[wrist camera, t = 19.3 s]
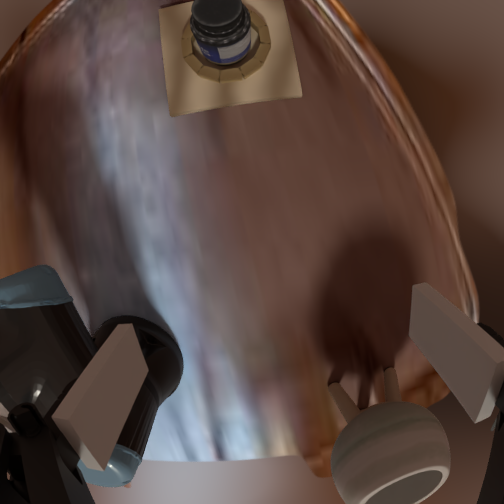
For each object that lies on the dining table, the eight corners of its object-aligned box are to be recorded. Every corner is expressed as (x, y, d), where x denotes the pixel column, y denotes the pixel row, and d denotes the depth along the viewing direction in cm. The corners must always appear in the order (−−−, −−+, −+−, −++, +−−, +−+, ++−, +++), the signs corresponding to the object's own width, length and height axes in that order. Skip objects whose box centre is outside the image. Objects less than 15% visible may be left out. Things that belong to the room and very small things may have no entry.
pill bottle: (193, 37, 32) (173, -3, 21) (239, 18, 31) (234, -27, 20) (213, 75, 33) (197, 43, 22) (259, 55, 32) (261, 17, 22)
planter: (364, 429, 50) (395, 523, 28) (296, 406, 48) (312, 520, 26) (421, 369, 46) (481, 459, 24) (357, 336, 44) (415, 448, 22)
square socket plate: (172, 117, 36) (166, 113, 33) (161, 13, 31) (154, 3, 28) (301, 97, 35) (304, 92, 32) (279, -7, 31) (281, -17, 28)
